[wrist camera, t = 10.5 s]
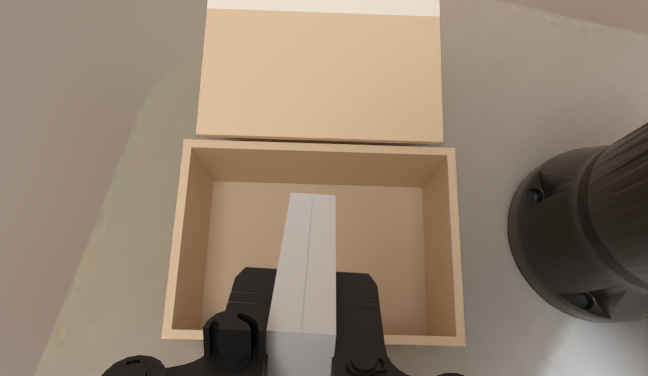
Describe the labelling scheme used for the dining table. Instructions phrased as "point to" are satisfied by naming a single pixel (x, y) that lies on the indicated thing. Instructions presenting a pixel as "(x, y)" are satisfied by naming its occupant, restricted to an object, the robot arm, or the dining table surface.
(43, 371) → the dining table surface
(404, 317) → the light wood open box
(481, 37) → the dining table surface
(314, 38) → the light wood flat panel
